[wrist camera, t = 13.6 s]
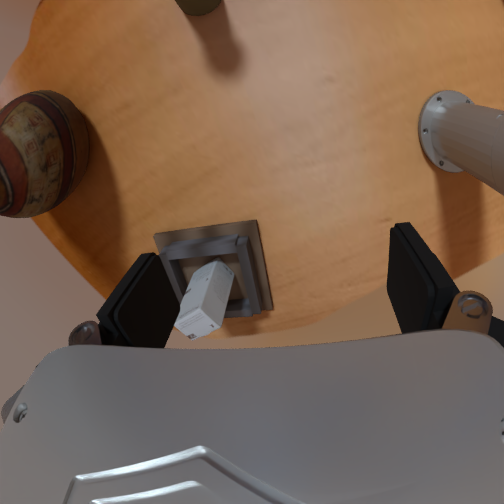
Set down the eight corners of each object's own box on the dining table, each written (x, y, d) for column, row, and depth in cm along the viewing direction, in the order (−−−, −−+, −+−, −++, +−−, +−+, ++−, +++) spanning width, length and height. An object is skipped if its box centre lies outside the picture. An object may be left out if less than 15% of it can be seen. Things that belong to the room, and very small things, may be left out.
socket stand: (256, 219, 43) (253, 231, 39) (272, 305, 51) (271, 321, 48) (155, 233, 46) (145, 245, 42) (185, 310, 54) (179, 325, 51)
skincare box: (218, 255, 46) (199, 306, 35) (236, 274, 47) (223, 327, 37) (192, 273, 48) (169, 323, 38) (209, 290, 50) (192, 342, 39)
